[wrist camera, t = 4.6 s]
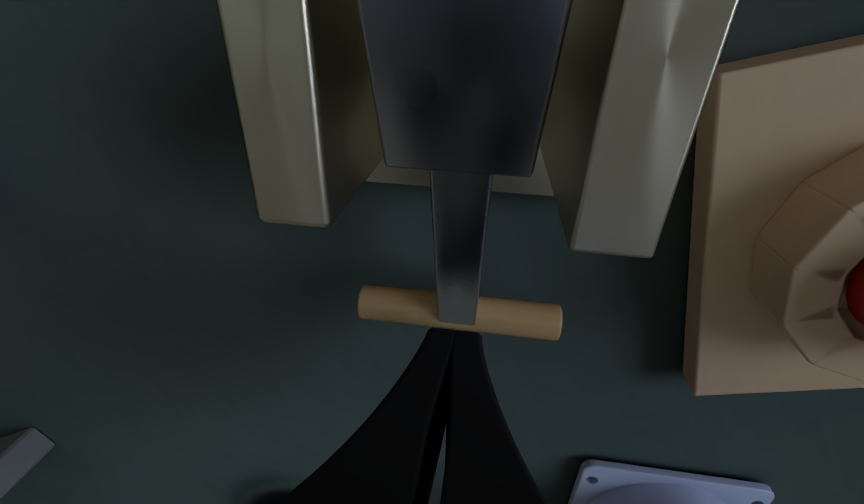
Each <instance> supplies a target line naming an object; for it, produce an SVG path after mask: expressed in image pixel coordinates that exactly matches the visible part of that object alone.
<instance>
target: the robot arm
mask: <svg viewBox="0 0 864 504" xmlns="http://www.w3.org/2000/svg"><path fill="white" fill-rule="evenodd" d="M446 422H447V424H446ZM445 427H446V455H445V471H444V479H443V486H442V494H441V501H440V504H547V502H546V501H545V499H544V497H543V496H542V494H541V492H540V491H539V489H538V487H537V485H536V483H535V481H534V479H533V478H532V476H531V474H530V472H529V470H528V468H527V466H526V464H525V462H524V460H523V458H522V456H521V454H520V452H519V450H518V448H517V446H516V444H515V442H514V439H513V437H512V435H511V433H510V430H509V428H508V426H507V423H506V421H505V418H504V416H503V414H502V411H501V408H500V406H499V403H498V400H497V397H496V394H495V391H494V388H493V385H492V383H491V379H490V376H489V373H488V369H487V365H486V361H485V356H484V351H483V345H482V336H481V335H480V334H479V333H476V332H467V331H458V330H450V329H441V328H431V329H429V330H428V331H427V334H426V336H425V338H424V340H423V342H422V344H421V345H420V347H419V349H418V351H417V352H416V354H415V356H414V357H413V359H412V360H411V362H410V364H409V365H408V366H407V368H406V369H405V371H404V372H403V374H402V375H401V377H400V378H399V379H398V381H397V382H396V384H395V385H394V386H393V388H392V389H391V390H390V392H389V393H388V394H387V395H386V397H385V398H384V399H383V400H382V402H381V403H380V404H379V405H378V407H377V408H376V409H375V410H374V412H373V413H372V414H371V415H370V416H369V417H368V419H367V420H366V421H365V422H364V423H363V424H362V425H361V426H360V427H359V429H358V430H357V431H356V432H355V433H354V434H353V435H352V436H351V437H350V438H349V439H348V440H347V441H346V442H345V443H344V444H343V445H342V446H341V447H340V448H339V449H338V450H337V451H336V452H335V453H334V454H333V455H332V456H331V457H330V458H329V459H328V460H327V461H326V462H325V463H324V464H322V465H321V466H320V467H319V468H318V469H317V470H316V471H315V472H314V473H313V474H311V475H310V476H309V477H308V478H307V479H305V480H304V481H303V482H302V483H301V484H300V485H298V486H297V487H296V488H295V489H294V490H292V491H291V492H290V493H289V494H288V495H286V496H285V497H284V498H283V499H282V500H280V501H279V502H278V503H277V504H428V503H429V498H430V494H431V489H432V485H433V480H434V476H435V472H436V467H437V463H438V458H439V454H440V449H441V445H442V440H443V436H444V431H445ZM773 499H774V494H773V492H772V490H771V488H770V487H769V486H768V485H766V484H763V483H758V482H751V481H744V480H737V479H729V478H722V477H715V476H708V475H701V474H694V473H687V472H680V471H673V470H666V469H659V468H652V467H645V466H638V465H631V464H624V463H617V462H610V461H602V460H595V459H589V460H586V461H584V462H583V463H582V464H581V466H580V469H579V472H578V475H577V478H576V481H575V484H574V487H573V490H572V493H571V496H570V499H569V502H568V504H770V503H771V502H772V500H773Z"/></svg>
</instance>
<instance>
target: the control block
mask: <svg viewBox="0 0 864 504" xmlns="http://www.w3.org/2000/svg"><path fill="white" fill-rule="evenodd" d="M863 258H864V34H862V35H857V36H852V37H847V38H843V39H838V40H833V41H828V42H824V43H819V44H814V45H809V46H805V47H800V48H795V49H790V50H785V51H781V52H776V53H771V54H766V55H762V56H757V57H752V58H747V59H743V60H738V61H733V62H728V63H724V64H719V65H718V67H717V70H716V73H715V76H714V79H713V82H712V84H711V87H710V90H709V93H708V96H707V99H706V102H705V105H704V108H703V111H702V114H701V117H700V120H699V123H698V126H697V134H696V151H695V169H694V186H693V203H692V220H691V237H690V254H689V271H688V288H687V305H686V322H685V339H684V356H683V374H684V376H685V378H686V380H687V382H688V384H689V386H690V388H691V390H692V392H693V394H694V395H696V396H702V395H722V394H743V393H764V392H784V391H805V390H825V389H846V388H864V326H863V325H862V324H861V323H860V322H858V321H857V320H856V319H855V318H854V317H853V315H852V314H851V312H850V310H849V308H848V305H847V301H846V288H847V283H848V280H849V278H850V275H851V274H852V272H853V270H854V268H855V267H856V265H857V264H858V263H859V262H860V261H861V260H862V259H863Z"/></svg>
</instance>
